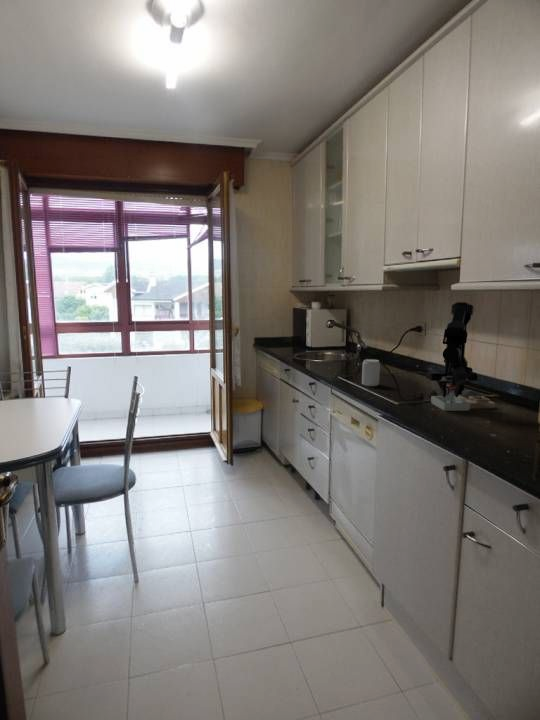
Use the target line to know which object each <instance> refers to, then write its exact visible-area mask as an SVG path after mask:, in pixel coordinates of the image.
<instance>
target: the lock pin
mask: <svg viewBox="0 0 540 720" xmlns="http://www.w3.org/2000/svg"><path fill="white" fill-rule="evenodd" d="M455 389H456V385H451V383H449V384H448V383H447V384H446V396H447V398H446V403H454V395H455Z"/></svg>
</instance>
